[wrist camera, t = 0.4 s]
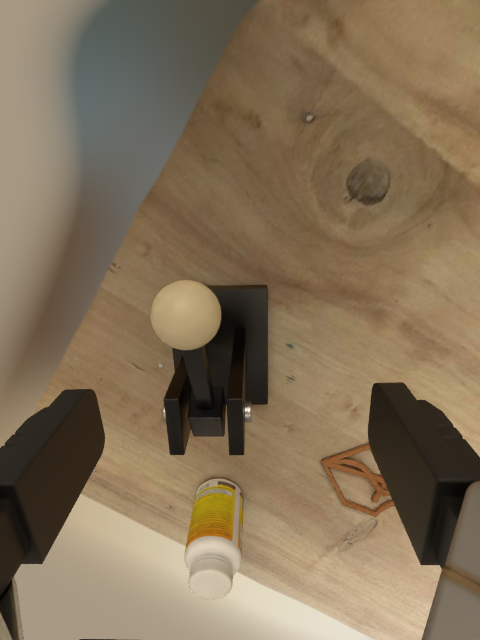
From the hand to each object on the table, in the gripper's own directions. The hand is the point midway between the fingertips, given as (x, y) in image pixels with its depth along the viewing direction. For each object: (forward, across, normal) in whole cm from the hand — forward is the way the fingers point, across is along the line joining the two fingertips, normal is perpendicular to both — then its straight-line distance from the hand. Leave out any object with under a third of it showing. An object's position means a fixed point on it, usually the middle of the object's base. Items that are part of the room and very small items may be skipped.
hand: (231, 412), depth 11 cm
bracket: (+23, +3, +9) cm, 25 cm away
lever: (+11, +3, +3) cm, 12 cm away
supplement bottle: (+23, +4, +28) cm, 36 cm away
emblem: (+23, -13, +25) cm, 36 cm away
